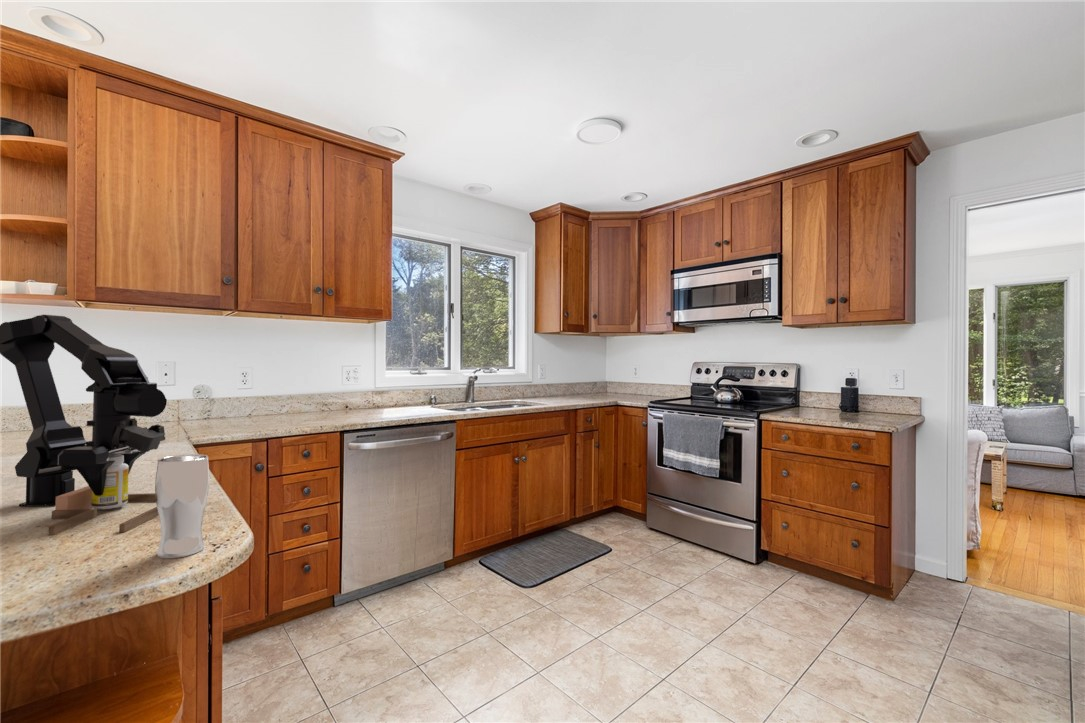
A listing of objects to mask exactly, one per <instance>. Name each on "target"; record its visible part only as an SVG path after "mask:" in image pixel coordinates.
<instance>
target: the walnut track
mask: <svg viewBox="0 0 1085 723" xmlns="http://www.w3.org/2000/svg"><path fill="white" fill-rule="evenodd" d="M130 502H131V503H135V502H137V503H141V502H156V497H155V492H151V493H150V492H149V493H128V502H127V503H130ZM97 517H98V509H94V508H90V509H71V510H55V509H54V510H51V520H61V521H59V522H56V523H54V524H51V525H49V526H48V530H47V532H48V534H47V535H48V536H55V535H57V534H59V532H60V533H62V532H64V531H66V530H68V529H71V528H73V527H76V526H79V525H81V524H82V523H85V522H87V521H90V520H92V519H94V518H97ZM156 517H159V515H158V510H157V506H155V507H153V508H150V509H149V510H147V511H145V512H142V513H141V514H138V515H136V516H134V517H132V518H129V519H127V520H126V521H124V522H122V523H119V526H118V527H119V529H118V530H119V532H118V533H119V534H122V533H123V534H125V533H127V532H129V531H131V530H132V529H134V528H136V527H138V526H140V525H143V524H145V523H146V522H148V521H150V520H152V519H155V518H156Z"/></svg>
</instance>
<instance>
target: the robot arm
mask: <svg viewBox="0 0 1085 723" xmlns="http://www.w3.org/2000/svg"><path fill="white" fill-rule="evenodd" d="M55 344H56V345H58V346H60V347H62V349H64V350H65V351H66V352H68V353H70V354H71V355H72V356H74V357H75V358H77V359H78V360H79V361H80V362H81V366H80V367H81V370H82V371H83V372H84V373H85V375H87V376H88V377H89V379H90V380H92V381H93V383H92V384H90V385H88V386H86V388H85V391H86V392H87V393H88V392H89V393H93V398H92V399H93V400H92V402H93V403H92V405H93V407H92V419H91V420H87V421H86V426H87V427H92V434H91V437H92V439H91V440H88V441H86V438H85V436H84V430H83V428H82V427H81V426H79V425H78V426H72V425H71V424H70V423H68V422H67V420H66V416H65V413H64V410H63V407H62V403H61V400H60V397H59V392H58V389H57V385H56V383H55V378H54V376H53V373H52V370H51V366H50V362H49V359H50V357H51V355H52V353H53V352H54V350H55ZM0 355H1V356H2V357H3V358H4V359H6V360H8V361H9V362H10V363H11V364H13V365H14V367H15V370H16V374H17V378H18V381H19V384H20V388H21V390H22V394H23V398H24V402H25V406H26V409H27V412H28V416H29V419H30V421H31V422H30V424H31V426H32V431H31V433H30V436H29V438H28V439H27V441H26V443H25V445H26V453H25V454H24V455H23V456H22V457H21V458H20V459H19V461H18V462H17V463H16V465H15V466H14V470H15V474H16V476H17V477H19V478H26V479H25V480H26V484H25V501H23V502H21V503H18V507H45V506H46V507H51V506H52V507H53V506H55V505H56V497H57V496H60V495H63V494H66V493H69V492H72V491H75V490H76V488H75V486H76V484H75V483H76V482H75V480H76V478H75V477H74V475H73V474H74V471H77V472H79V474H80V476H82V478H83V480H84V481H85V482H86V484H87V486H89V487H90V488H91V490H92V491H93V493H94V494H95V495H96V496H101V495H103V491H104V487H105V480H106V473H107V469H108V468H109V467H110V466H111V465H112V464H113V463H114V462H115V461H108V457H109V455H112V454H122V455H124V462H123V463H125V464H127V465H128V466H129V472H128V476H129V475H130V472H131V470H132V468H133V466H134V464H135V462H136V460H138V459H139V458H140V457H141V456H143V455H145V454H146V453H149V452H150V451H153V450H157V449H159V446H160V444H161V442H162V441H165V440H166V436H165V435H166V432H165V426H164V425H160V424H154V425H151V426H150V427H147V426H145V427H143V426H142V427H141V426H138V421H137V419H136V418H134V417H144V418H153V417H154V418H155V417H157V416H159V415H160V414H162V413H163V412H164V410H166V407H167V403H168V402H167V400H168V399H167V398H166V395H165V393H164V392H163V391H162V390H160V389H158V383H157V382H150V380H149V377H148V376H147V375H146V374H145V372H144V370H143V368H142V366H141V365H140V363H139V360H138V357H136V356H135V354H132V353H131V352H128V351H126V350H123V349H119V348H115V347H111V346H108V345H106V344H104V343H102V342H101V341H100V340H98V339H97V338H95V337H93V335H91V334H89V333H88V332H87V331H85V330H84V329H82V328H81V327H80V326H78V325H76V324H75V323H74V322H73V320H72V319H71V318H69V317H67V316H65V315H53V314H40V315H36V316H35V315H34V316H33V317H29V318H25V319H24V318H23V319H18V320H13V321H5V322H2V323H1V324H0ZM131 416H132V417H131Z"/></svg>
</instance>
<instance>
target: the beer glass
mask: <svg viewBox="0 0 1085 723" xmlns="http://www.w3.org/2000/svg"><path fill="white" fill-rule="evenodd" d="M154 483H155V484H154V493H155V497H156V501H155V503H156V507H157V510H158V519H159V525H160V539H159V544H158V548H157V552H156V554H157V555H156V556H157V557H158V558H160V559H166V560H167V559H170V560H171V559H179V558H185V557H189V556H192V555H195V554H197V553H200V552H201V551H202V550H204V549H205V543H204V542H205V541H204V538H203V530H202V529H203V528H202V527H203V526H202V525H203V519H204V515H205V514H204V513H205V511H206V510H205V509H206V505H207V501H208V495H209V490H210V466H209V455H207V454H199V453H197V454H195V453H193V454H191V453H190V454H179V455H178V454H177V455H171V456H165V457H161V458H158V459H157V467H156V474H155V482H154Z"/></svg>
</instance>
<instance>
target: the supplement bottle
mask: <svg viewBox="0 0 1085 723" xmlns="http://www.w3.org/2000/svg"><path fill="white" fill-rule="evenodd" d="M108 461H115V462H114V463H113V464H112V465H111V466H110V467H109V468H108V469H107V473H106V480H105V487H104V491H103V495H101V496H96V495H95V494H94V493H93V491H92V498H91V506H92V508H91V509H97V510H110V509H116V508H120V507H123V506H125V505H126V504H127V503H129V502H128V494H129V475H128V472H129V466H128V465H127V464H125V463H123V462H124V455H122V454H112V455H109V457H108Z"/></svg>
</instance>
